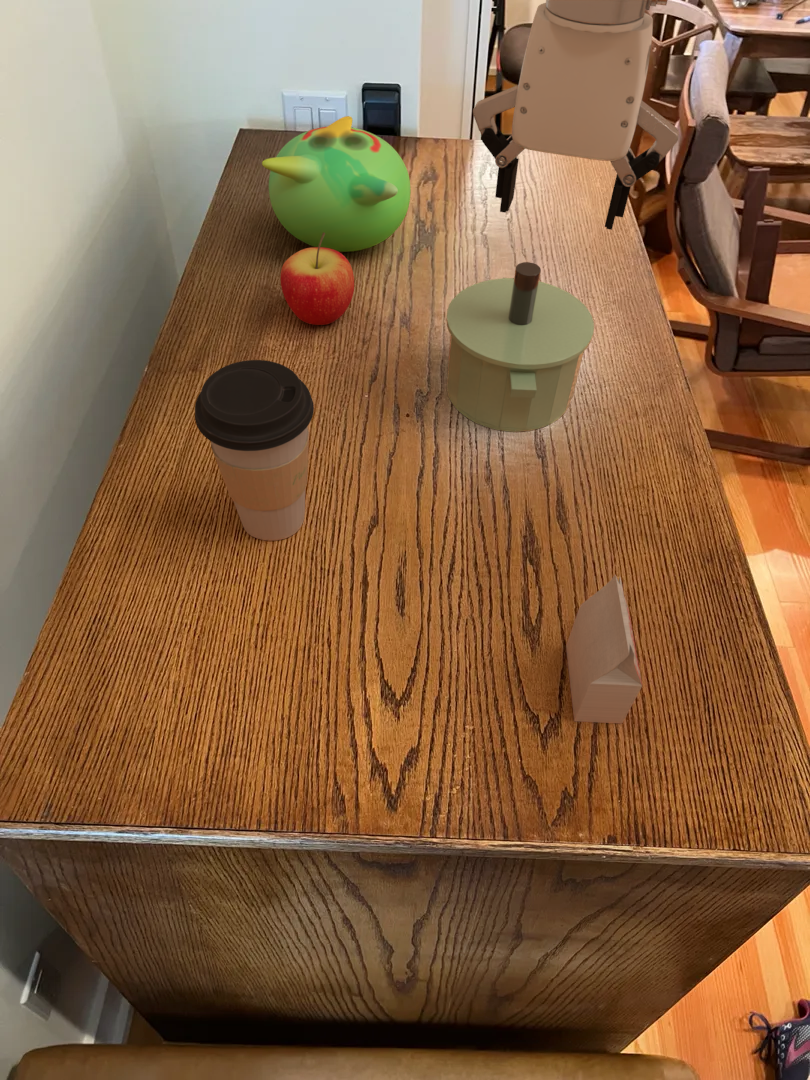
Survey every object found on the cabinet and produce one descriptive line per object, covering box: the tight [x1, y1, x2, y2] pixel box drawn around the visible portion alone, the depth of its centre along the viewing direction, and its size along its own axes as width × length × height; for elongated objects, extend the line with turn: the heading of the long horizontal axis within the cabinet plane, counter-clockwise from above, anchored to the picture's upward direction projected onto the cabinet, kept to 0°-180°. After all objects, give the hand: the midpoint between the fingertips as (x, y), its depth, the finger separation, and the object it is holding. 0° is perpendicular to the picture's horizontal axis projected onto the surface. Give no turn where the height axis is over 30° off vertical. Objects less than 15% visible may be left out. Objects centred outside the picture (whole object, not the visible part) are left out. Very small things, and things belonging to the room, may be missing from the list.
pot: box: [446, 333, 585, 433], centre depth 81 cm, size 14×19×8 cm
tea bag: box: [565, 573, 643, 724], centre depth 57 cm, size 4×7×10 cm, turn 178°
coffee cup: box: [194, 359, 315, 542], centre depth 66 cm, size 9×9×15 cm
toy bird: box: [261, 115, 412, 253], centre depth 97 cm, size 18×17×15 cm
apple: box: [280, 232, 355, 326], centre depth 88 cm, size 8×8×10 cm
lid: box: [445, 261, 595, 369], centre depth 75 cm, size 15×15×7 cm
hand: (557, 213), depth 71 cm, fingers open, 9 cm apart
